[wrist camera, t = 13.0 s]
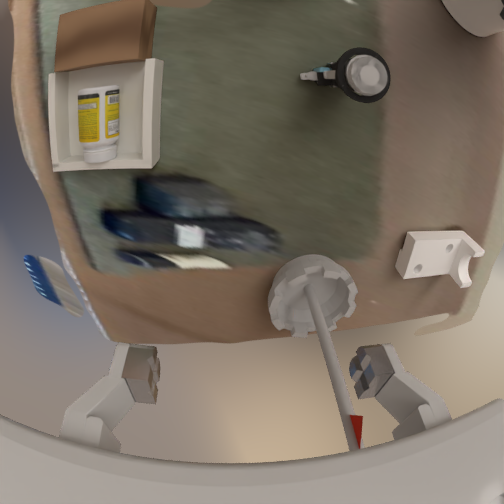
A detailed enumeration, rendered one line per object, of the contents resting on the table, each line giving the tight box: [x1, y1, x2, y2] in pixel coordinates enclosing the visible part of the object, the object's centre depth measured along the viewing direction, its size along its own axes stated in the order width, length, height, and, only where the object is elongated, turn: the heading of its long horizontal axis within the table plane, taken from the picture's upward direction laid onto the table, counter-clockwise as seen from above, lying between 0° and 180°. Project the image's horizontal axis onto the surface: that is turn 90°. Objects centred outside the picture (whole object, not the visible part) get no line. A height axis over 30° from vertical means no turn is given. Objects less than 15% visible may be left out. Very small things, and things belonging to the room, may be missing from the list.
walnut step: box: [54, 0, 157, 72], centre depth 21 cm, size 7×10×5 cm
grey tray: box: [48, 58, 164, 172], centre depth 27 cm, size 12×13×4 cm
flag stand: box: [268, 254, 364, 451], centre depth 32 cm, size 13×13×30 cm
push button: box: [300, 48, 390, 103], centre depth 24 cm, size 7×5×10 cm
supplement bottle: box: [78, 85, 119, 163], centre depth 26 cm, size 5×5×8 cm
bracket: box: [395, 231, 485, 288], centre depth 40 cm, size 13×7×8 cm, turn 91°
